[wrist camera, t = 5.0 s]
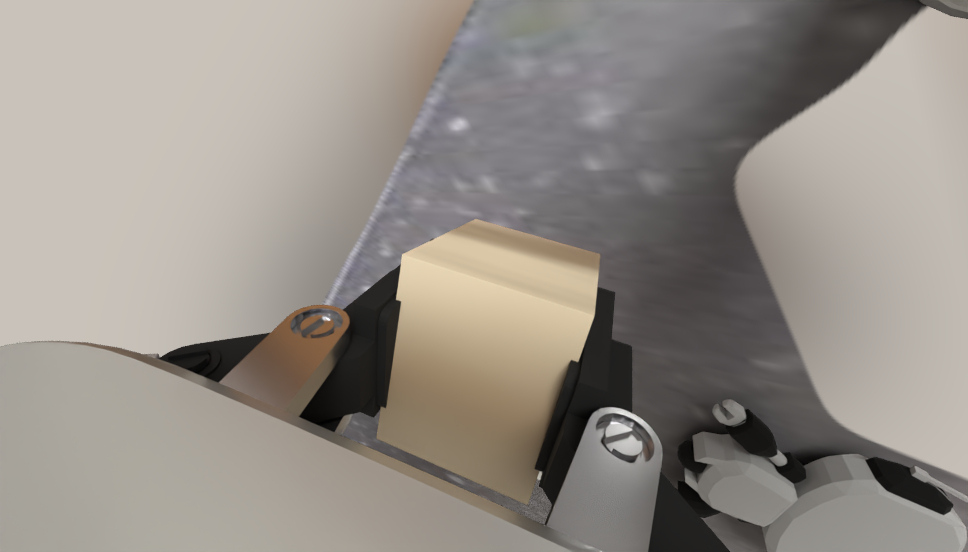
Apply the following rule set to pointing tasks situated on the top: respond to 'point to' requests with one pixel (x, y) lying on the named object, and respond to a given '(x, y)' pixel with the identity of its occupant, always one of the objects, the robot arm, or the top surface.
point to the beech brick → (486, 350)
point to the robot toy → (815, 494)
